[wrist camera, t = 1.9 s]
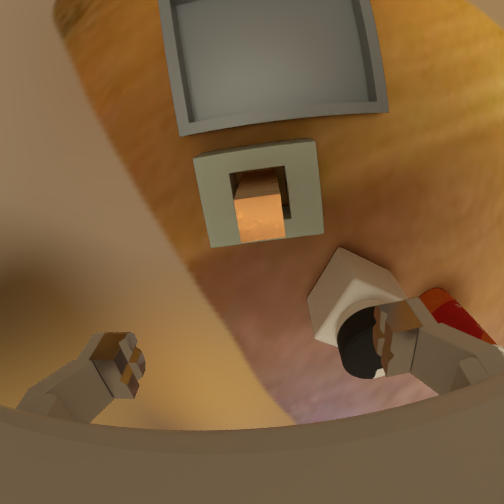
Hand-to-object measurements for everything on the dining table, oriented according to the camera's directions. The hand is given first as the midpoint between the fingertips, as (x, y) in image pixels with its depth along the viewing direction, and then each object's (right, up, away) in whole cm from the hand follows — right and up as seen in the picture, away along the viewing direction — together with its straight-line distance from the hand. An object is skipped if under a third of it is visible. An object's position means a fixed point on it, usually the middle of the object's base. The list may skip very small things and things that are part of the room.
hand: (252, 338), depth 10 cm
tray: (+2, +21, +15) cm, 26 cm away
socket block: (+1, +9, +20) cm, 22 cm away
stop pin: (+1, +9, +20) cm, 22 cm away
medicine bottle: (+11, -1, +24) cm, 26 cm away
